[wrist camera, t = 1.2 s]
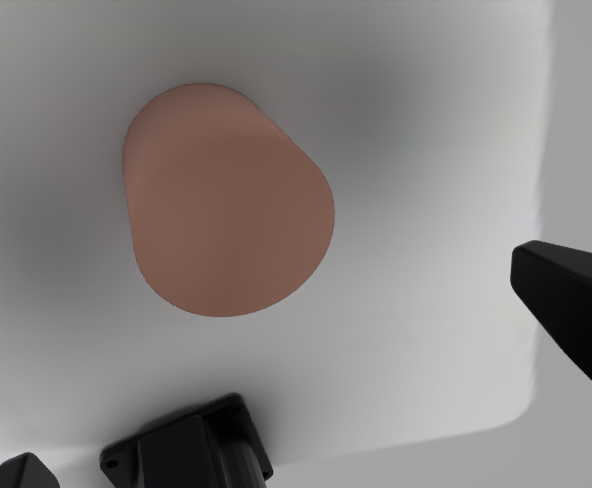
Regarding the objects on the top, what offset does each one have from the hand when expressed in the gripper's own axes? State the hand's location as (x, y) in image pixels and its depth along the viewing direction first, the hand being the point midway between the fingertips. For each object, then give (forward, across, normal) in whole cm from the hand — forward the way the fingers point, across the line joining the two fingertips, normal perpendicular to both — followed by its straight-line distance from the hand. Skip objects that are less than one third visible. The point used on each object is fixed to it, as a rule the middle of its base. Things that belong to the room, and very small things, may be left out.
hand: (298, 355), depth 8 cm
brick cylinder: (+9, 0, 0) cm, 9 cm away
